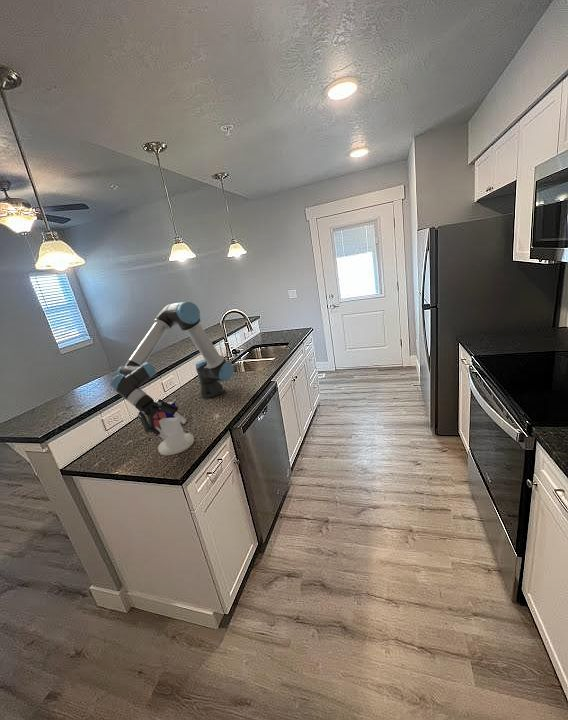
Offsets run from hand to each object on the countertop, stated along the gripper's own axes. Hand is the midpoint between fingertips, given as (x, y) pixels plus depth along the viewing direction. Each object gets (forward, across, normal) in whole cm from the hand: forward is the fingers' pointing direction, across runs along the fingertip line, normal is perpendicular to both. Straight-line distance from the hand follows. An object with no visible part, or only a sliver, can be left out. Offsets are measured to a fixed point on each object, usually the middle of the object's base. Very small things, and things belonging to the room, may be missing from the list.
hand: (176, 429), depth 137 cm
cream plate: (+4, 0, -7) cm, 8 cm away
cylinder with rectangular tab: (+3, 0, -7) cm, 7 cm away
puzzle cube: (-12, -21, -24) cm, 34 cm away
